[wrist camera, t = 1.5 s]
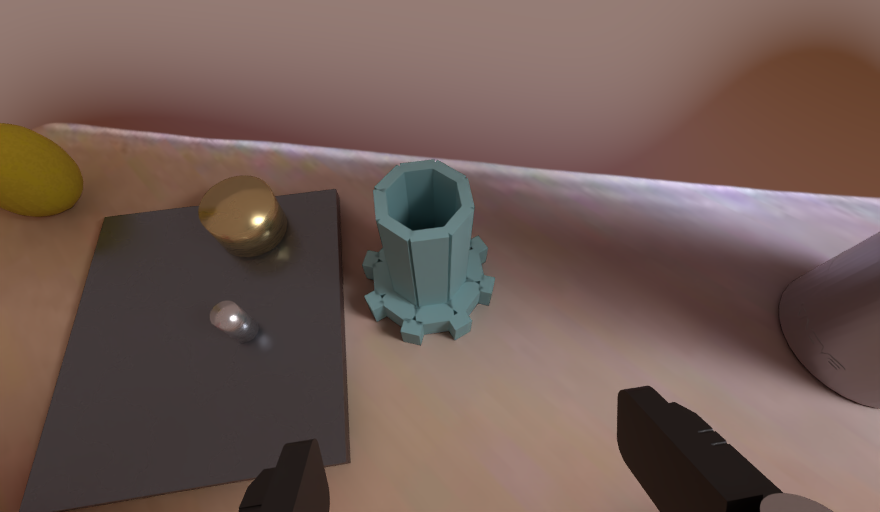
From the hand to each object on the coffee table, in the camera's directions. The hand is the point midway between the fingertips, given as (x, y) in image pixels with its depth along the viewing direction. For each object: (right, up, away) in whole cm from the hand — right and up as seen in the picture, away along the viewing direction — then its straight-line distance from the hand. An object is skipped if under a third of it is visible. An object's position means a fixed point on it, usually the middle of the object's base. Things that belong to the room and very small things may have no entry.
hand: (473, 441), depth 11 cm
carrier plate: (-16, 0, +17) cm, 23 cm away
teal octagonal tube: (-2, +3, +18) cm, 18 cm away
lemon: (-30, +9, +22) cm, 38 cm away
